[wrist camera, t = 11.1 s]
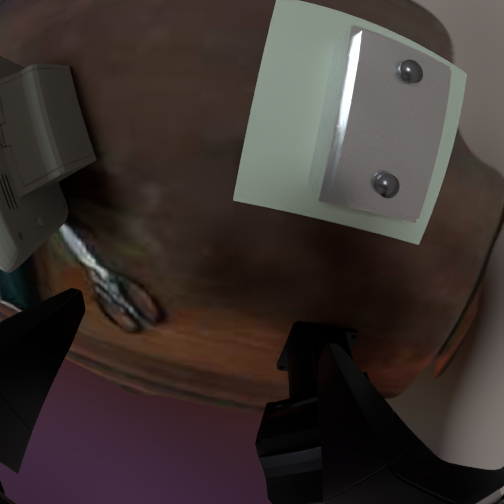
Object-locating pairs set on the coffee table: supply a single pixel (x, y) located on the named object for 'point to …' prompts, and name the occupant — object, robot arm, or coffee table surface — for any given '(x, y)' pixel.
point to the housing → (379, 125)
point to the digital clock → (36, 154)
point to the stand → (317, 120)
